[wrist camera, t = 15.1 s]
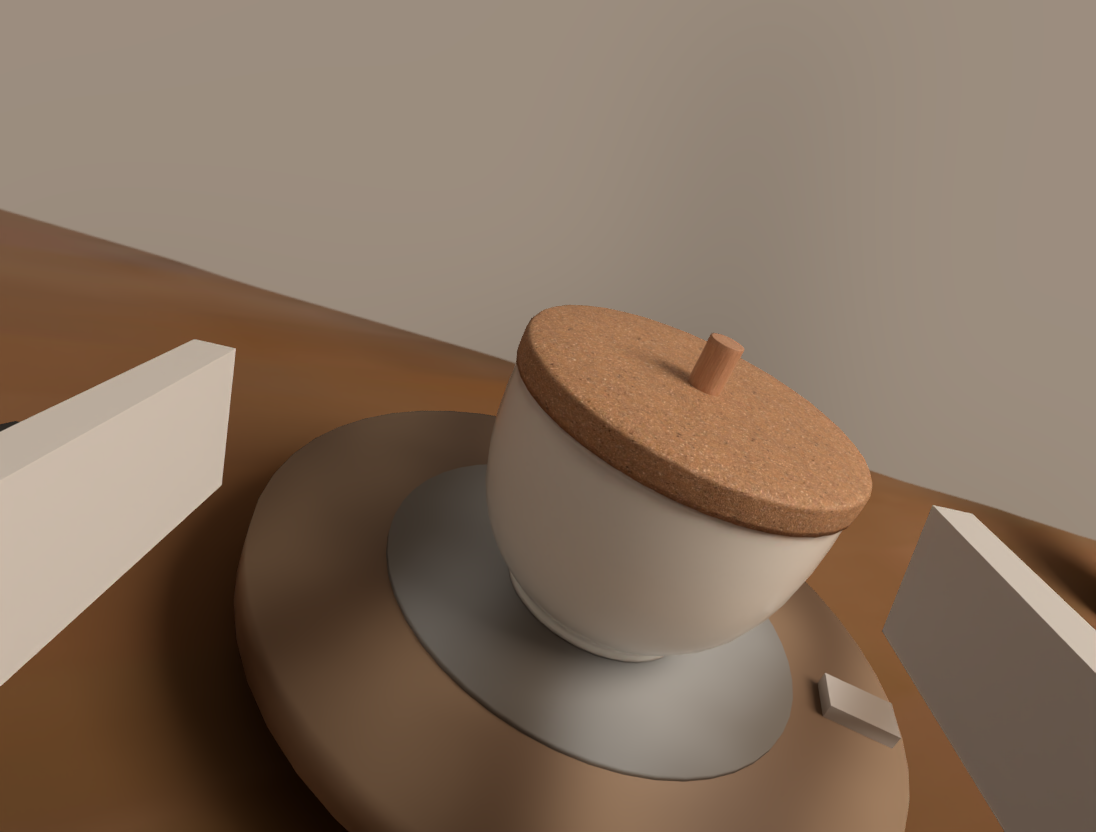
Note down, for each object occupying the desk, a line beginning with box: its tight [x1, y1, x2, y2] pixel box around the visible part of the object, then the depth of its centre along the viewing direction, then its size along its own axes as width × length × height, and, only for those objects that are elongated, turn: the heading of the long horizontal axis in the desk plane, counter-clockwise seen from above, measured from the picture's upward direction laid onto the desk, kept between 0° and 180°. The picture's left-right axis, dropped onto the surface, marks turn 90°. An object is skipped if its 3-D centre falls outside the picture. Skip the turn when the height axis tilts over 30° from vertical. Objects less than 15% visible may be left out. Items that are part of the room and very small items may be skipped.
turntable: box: [233, 411, 909, 832], centre depth 27 cm, size 22×22×2 cm
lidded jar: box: [485, 305, 872, 663], centre depth 25 cm, size 11×11×9 cm
